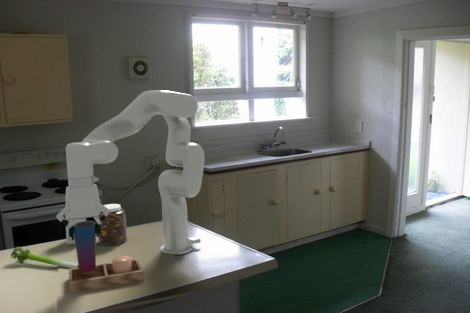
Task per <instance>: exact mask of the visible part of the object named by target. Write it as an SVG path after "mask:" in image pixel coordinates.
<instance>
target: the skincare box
mask: <svg viewBox="0 0 470 313" xmlns="http://www.w3.org/2000/svg"><path fill="white" fill-rule="evenodd" d="M64 216H65V217H64V219H66V220H67V221H69V219H68V218H67V215H66V213H65V214H64ZM82 221H87V218H82V219H74V222H73V224H75V223H77V222H82ZM73 224H72V225H73ZM65 232H66V233H65V236H66V244H67V245H69V246H70V245H76V244H75V236H74V240H72V237H69V228H68V227H67V226H66V225H65Z"/></svg>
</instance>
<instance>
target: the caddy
mask: <svg viewBox="0 0 470 313" xmlns="http://www.w3.org/2000/svg"><path fill="white" fill-rule="evenodd" d="M131 264H132V272H127V273H121V274H115V275H113V263H112V262H111V261H110V262H106V263H101V264H96V269H95V270H93V271H90V272H80V271H79V267H77V268H72V269H70V268H68V284H69V286H68V287H69V294H74V293H81V292H86V291H92V290H99V289H103V288H104V289H105V288H109V287H114V286H120V285H121V286H122V285H127V284H133V283H138V282H144V270H143V268H142V266H141V264H140V262H139V259H138V258H131Z"/></svg>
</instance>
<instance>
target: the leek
mask: <svg viewBox="0 0 470 313" xmlns="http://www.w3.org/2000/svg"><path fill="white" fill-rule="evenodd" d="M10 257H11V258H12V259H15V260H18V263H19V264H20V265H22V264H24V263H25V261H26V260H30V261H34V262H40V263H44V264H48V265H53V266H58V267H63V268H66V269H72V268H79V265H78V262H71V261H65V260H60V259H55V258H51V257H50V258H49V257H47V256H45V257H44V256H41V255H37V254H34V253H31V250H30V249H28V248H25V250H24V248H22V247H20V246H16V247H14V248H13V250H12V251H11V254H10Z"/></svg>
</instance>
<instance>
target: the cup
mask: <svg viewBox="0 0 470 313" xmlns="http://www.w3.org/2000/svg"><path fill="white" fill-rule="evenodd" d="M73 229H74V236H75V244H74V245H75V248H76V249H75V250H76V255H77V256H76V257H77V263H78V265H79V266H78V268H79V271H80V272H90V271H93V270H95V269H96V265H97V264H96V263H97V262H96V261H97V259H96V257H97V256H96V254H97V252H96V251H97V247H96V246H97V244H96V243H97V242H96V241H97V240H96V238H97V236H96V221H93V220H86V221H82V222H77V223H75V224H73Z"/></svg>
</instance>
